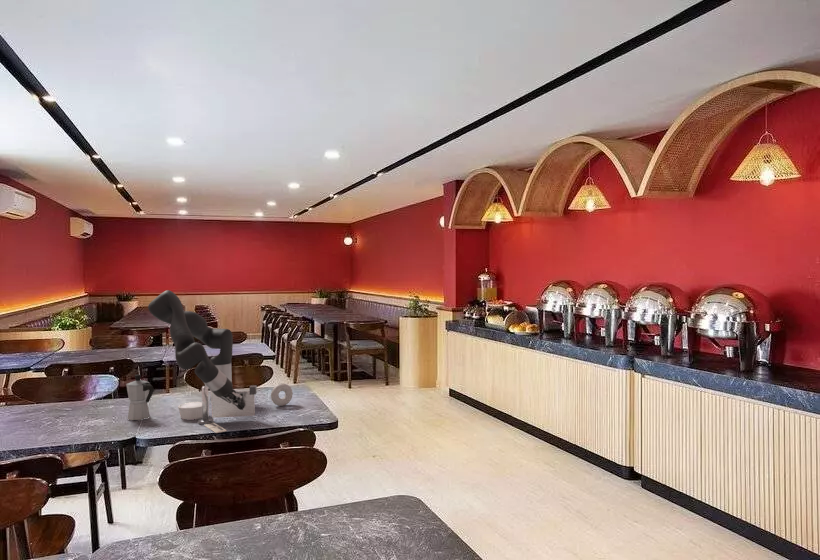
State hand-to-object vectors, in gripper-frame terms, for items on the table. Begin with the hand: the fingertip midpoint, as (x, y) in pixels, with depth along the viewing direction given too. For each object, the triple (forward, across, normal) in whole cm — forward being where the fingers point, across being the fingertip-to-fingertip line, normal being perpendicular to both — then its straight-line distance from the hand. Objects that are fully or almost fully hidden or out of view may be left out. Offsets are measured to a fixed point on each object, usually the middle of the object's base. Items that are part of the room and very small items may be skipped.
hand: (242, 407), depth 233 cm
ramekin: (+1, -24, -8) cm, 25 cm away
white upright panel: (+1, -5, -5) cm, 7 cm away
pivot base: (-2, -12, -10) cm, 16 cm away
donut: (+23, -5, +15) cm, 28 cm away
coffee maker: (-8, -41, -17) cm, 45 cm away
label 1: (-3, -6, -12) cm, 13 cm away
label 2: (-5, +1, -13) cm, 14 cm away
